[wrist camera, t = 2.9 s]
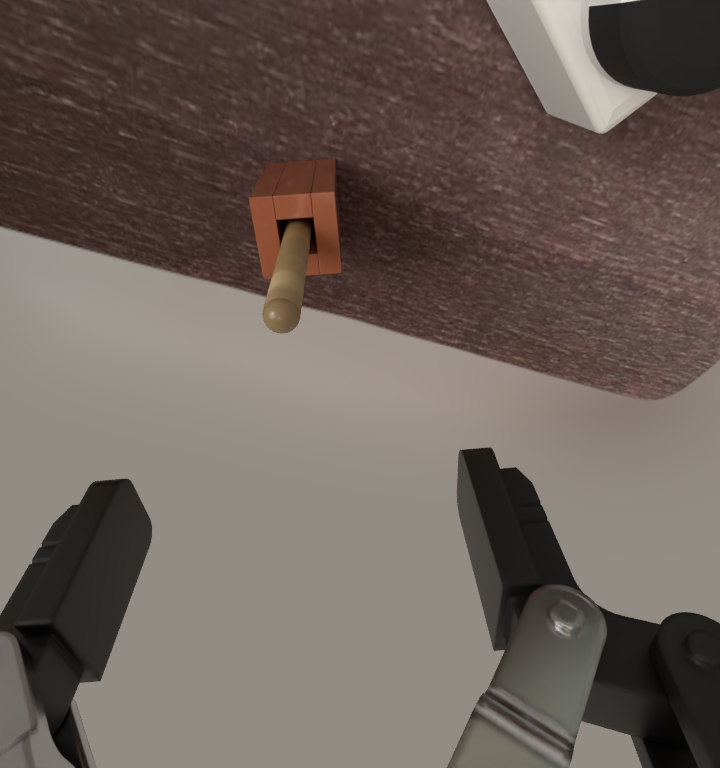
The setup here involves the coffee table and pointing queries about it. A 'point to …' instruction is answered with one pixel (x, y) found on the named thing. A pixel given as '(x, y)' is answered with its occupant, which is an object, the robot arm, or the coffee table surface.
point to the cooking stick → (289, 277)
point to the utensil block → (298, 212)
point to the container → (612, 53)
